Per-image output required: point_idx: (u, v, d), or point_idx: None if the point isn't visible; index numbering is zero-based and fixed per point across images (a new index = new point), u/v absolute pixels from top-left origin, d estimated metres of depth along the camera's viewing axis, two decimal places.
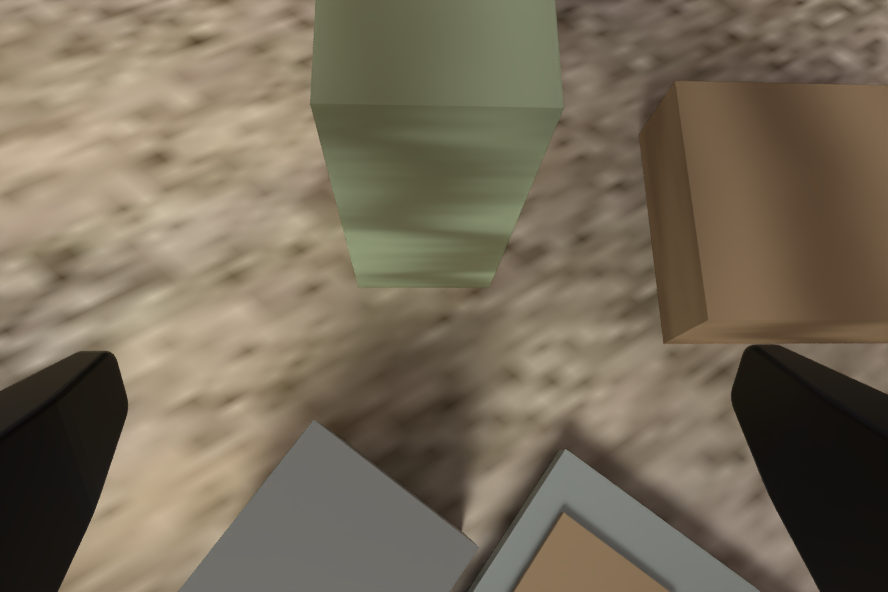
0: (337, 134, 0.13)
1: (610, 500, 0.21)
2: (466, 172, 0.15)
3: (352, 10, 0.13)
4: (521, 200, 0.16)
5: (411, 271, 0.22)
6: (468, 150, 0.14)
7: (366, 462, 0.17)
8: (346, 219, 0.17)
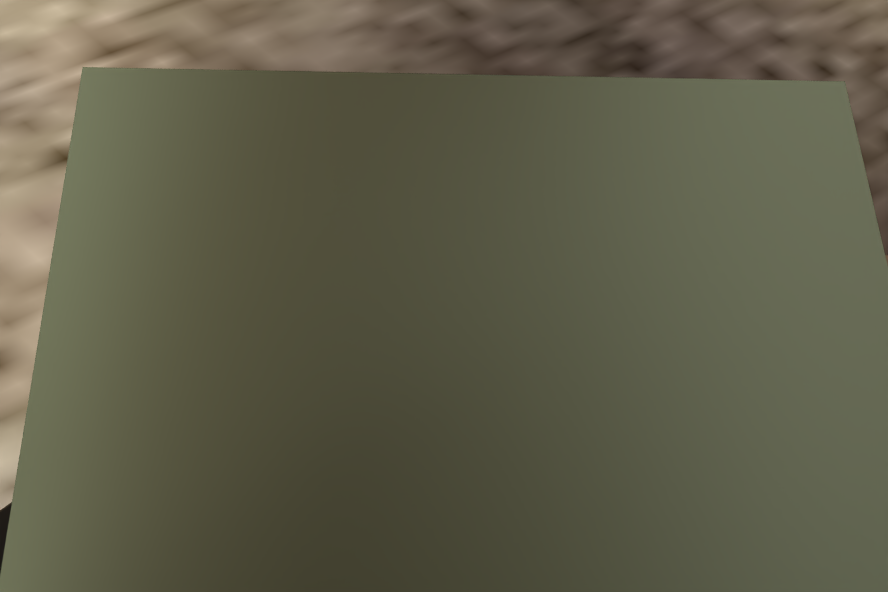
0: None
1: None
2: None
3: (159, 537, 0.03)
4: None
5: None
6: None
7: None
8: None
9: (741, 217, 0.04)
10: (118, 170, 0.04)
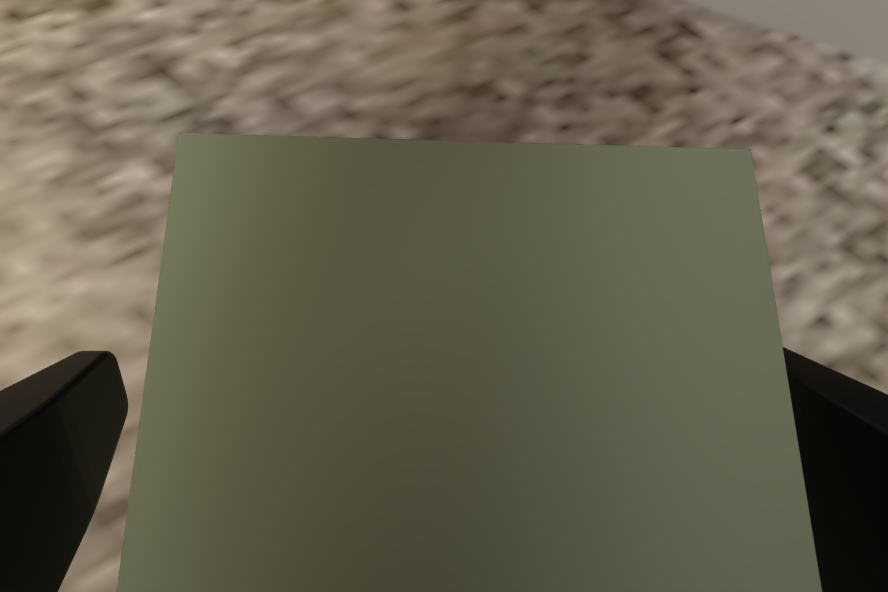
0: None
1: None
2: None
3: (240, 473, 0.05)
4: None
5: None
6: None
7: None
8: None
9: (665, 252, 0.05)
10: (205, 211, 0.05)
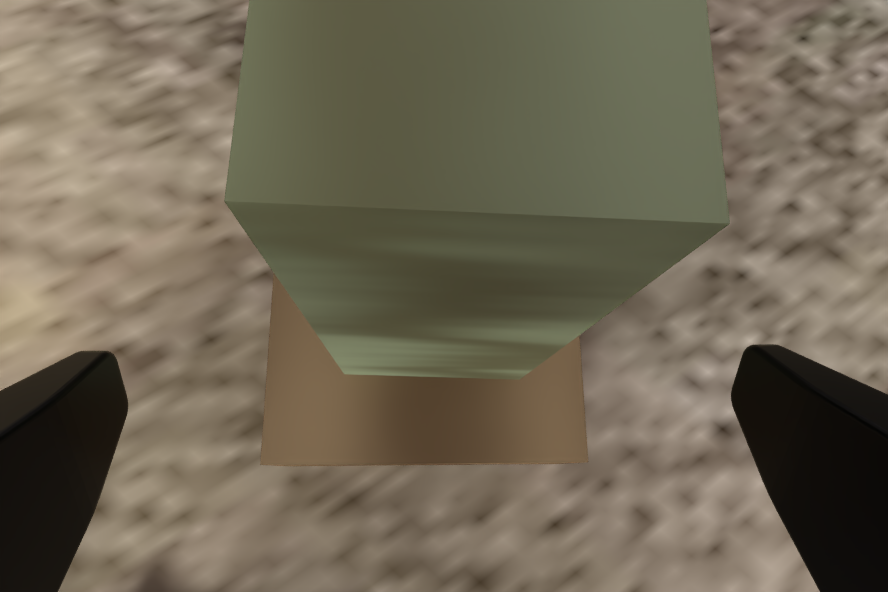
0: (287, 242, 0.07)
1: None
2: (515, 291, 0.09)
3: (320, 11, 0.07)
4: (594, 318, 0.10)
5: (416, 366, 0.16)
6: (525, 268, 0.08)
7: None
8: (319, 326, 0.11)
9: None
10: None
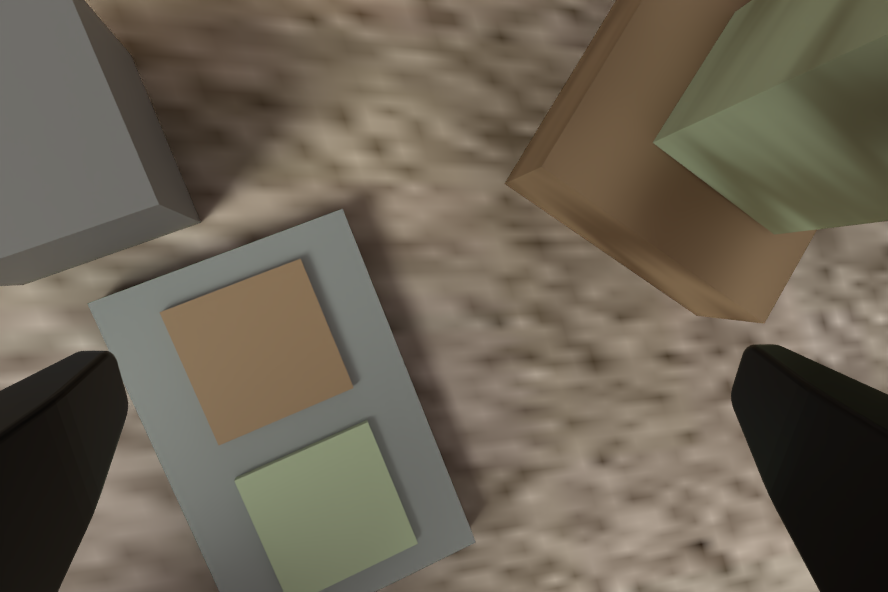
0: None
1: (352, 277, 0.20)
2: None
3: None
4: None
5: (741, 168, 0.17)
6: None
7: (91, 52, 0.14)
8: (815, 74, 0.13)
9: None
10: None
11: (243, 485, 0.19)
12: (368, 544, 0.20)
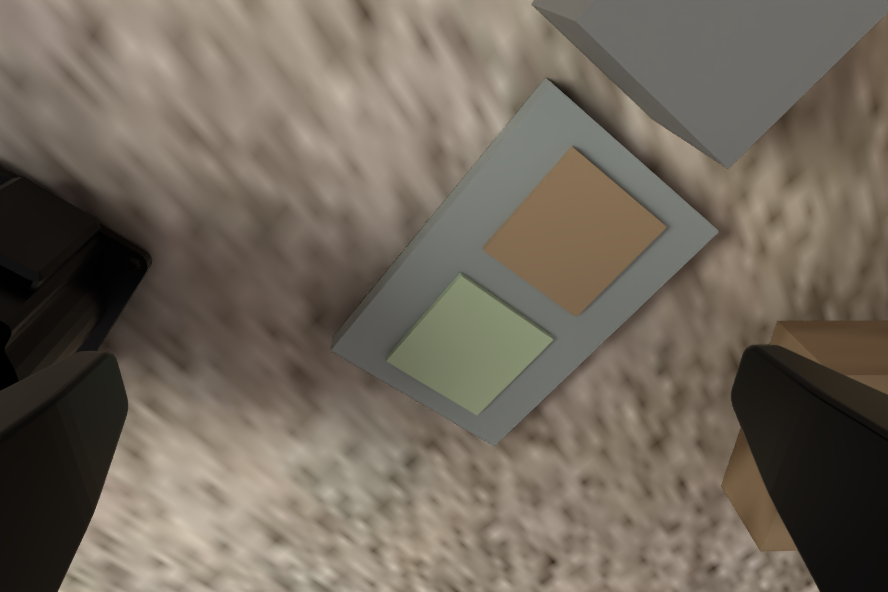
0: None
1: (663, 268, 0.22)
2: None
3: None
4: None
5: None
6: None
7: (851, 47, 0.14)
8: None
9: None
10: None
11: (460, 283, 0.21)
12: (459, 386, 0.24)
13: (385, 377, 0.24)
